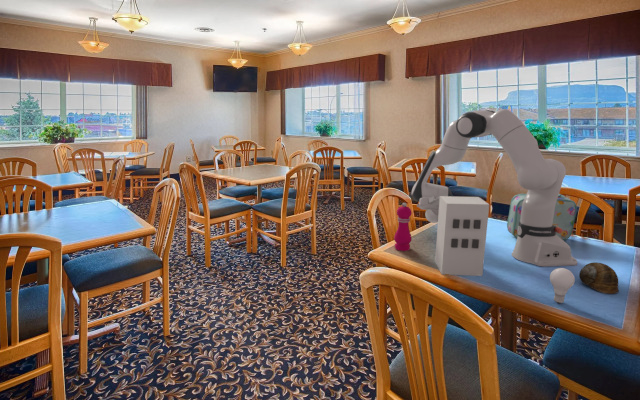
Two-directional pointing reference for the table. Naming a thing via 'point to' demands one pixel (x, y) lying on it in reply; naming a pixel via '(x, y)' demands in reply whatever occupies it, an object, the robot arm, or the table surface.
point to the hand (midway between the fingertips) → (446, 198)
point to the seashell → (600, 277)
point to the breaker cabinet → (461, 235)
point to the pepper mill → (403, 229)
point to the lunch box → (561, 219)
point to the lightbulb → (561, 283)
